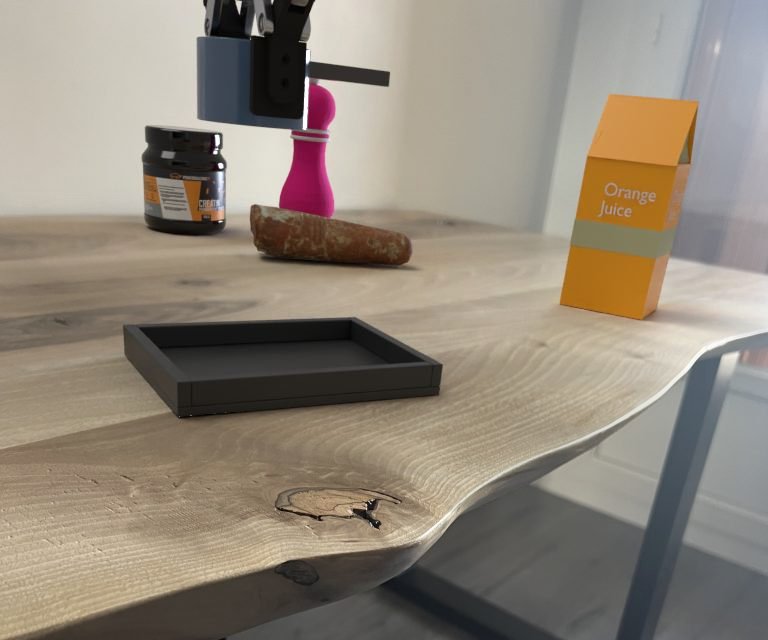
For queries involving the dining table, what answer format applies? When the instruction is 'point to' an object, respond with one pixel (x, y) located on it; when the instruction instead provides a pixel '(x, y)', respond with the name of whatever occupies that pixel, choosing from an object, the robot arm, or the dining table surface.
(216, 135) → the supplement container
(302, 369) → the tray
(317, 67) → the pan
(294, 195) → the pepper mill
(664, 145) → the orange juice
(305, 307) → the dining table surface
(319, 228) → the brown elongated bar
